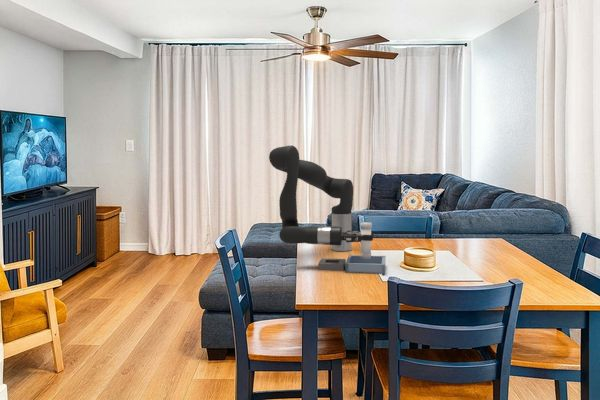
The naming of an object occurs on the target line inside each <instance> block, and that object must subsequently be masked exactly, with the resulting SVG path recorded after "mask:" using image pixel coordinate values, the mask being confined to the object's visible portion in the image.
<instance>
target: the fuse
mask: <svg viewBox="0 0 600 400" xmlns="http://www.w3.org/2000/svg"><path fill="white" fill-rule="evenodd" d="M372 228H373V223H372V222H371V221H369V222H368V221H363V222H360V231H361V234H362V235H371V233H372ZM359 255H360V258H362V259H371V256H372V241H361V242H360V252H359Z"/></svg>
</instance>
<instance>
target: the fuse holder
mask: <svg viewBox="0 0 600 400" xmlns="http://www.w3.org/2000/svg"><path fill="white" fill-rule="evenodd" d="M346 261H347V259H346V258H327V257H326V258H324V257H321V258H320V260H319V262H318V263H317V266H318V267H317V270H318V271H337V272H339V271H340V272H341V271H342V272H345V263H346Z"/></svg>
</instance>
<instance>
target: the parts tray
mask: <svg viewBox="0 0 600 400" xmlns="http://www.w3.org/2000/svg"><path fill="white" fill-rule="evenodd" d="M344 272H345V273H346V274H371V275H372V274H374V275H375V274H378V275H380V274H381V276H385V274H386V255H371V259H362V258H360V254H359V255H358V254H348V256H347V259H346V263H345V268H344Z"/></svg>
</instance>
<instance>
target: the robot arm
mask: <svg viewBox="0 0 600 400" xmlns="http://www.w3.org/2000/svg"><path fill="white" fill-rule="evenodd" d="M268 159H269V163H270V165H271V166H272V167H273V168H275V170H278V171H281V172H284V173H286V178H285V183H284V184H283V187H282V190H281V192H280V196H279V200H278V201H279V202H278V204H279V205H278V206H279V217H280V219H281V222H282V223H281V226H282V228H281V229H280V231H279V234H278V235H279V239H280V240H281V242H283V244H284V243H285V244H308V245H322V246H331V250H332V251H334V252H335V251H336V252H348V251H351V250H352V243H361V241H371V242H372V241H373V240H374V233H373V232H371V235H362V234H361V230H360V231H358V230H352V209H353V205H354V183H353V181H352V180H351V179H350V178H336V177H331V176H329V175H328V174H327V172H326V170H325V169H324V167H322V166H320V165H319V164H318V163H315V162H313V161H309V160H305V159H300V153H299V150H298V149H297V147H296V146H294V145H285V146H278V147H276V148H273V149H272V150H271V151H270V152H269V156H268ZM298 180H301V181H303V182H304V183H306V184H308V185H311V186H312V187H315V188H317V189H320V190H321V191H323V192H324V193H325V194H327V196H330V197H331V198H333V199H340V200H339V203H338V204H337V205H334V206H332V207H331V226H330V225H329V226H326V225H325V226H299V221H298V220H299V219H298V210H297V209H298V208H297V207H298V206H297V190H298V189H297V188H298Z"/></svg>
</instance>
